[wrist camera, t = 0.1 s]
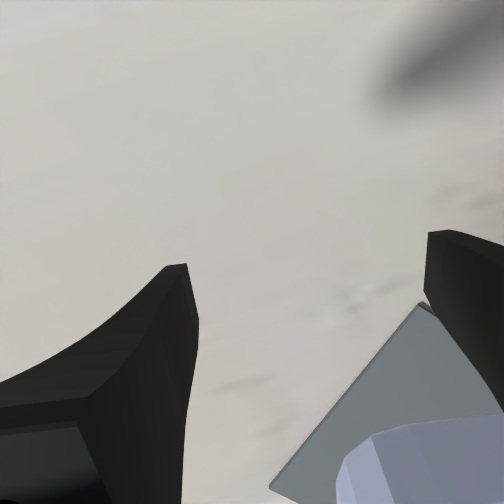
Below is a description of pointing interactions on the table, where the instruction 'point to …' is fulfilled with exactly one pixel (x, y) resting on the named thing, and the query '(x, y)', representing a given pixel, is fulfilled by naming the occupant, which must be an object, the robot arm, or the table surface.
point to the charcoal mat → (388, 404)
